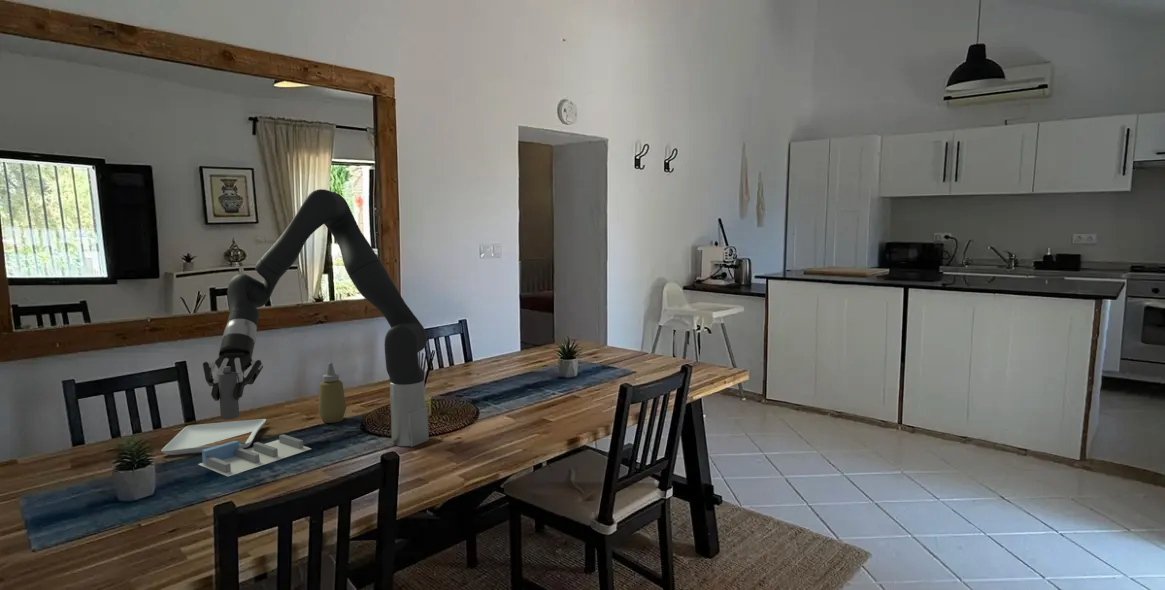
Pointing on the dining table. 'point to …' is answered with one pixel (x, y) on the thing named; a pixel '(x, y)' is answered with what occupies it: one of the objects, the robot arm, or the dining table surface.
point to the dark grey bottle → (228, 394)
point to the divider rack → (249, 455)
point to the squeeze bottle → (331, 397)
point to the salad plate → (211, 435)
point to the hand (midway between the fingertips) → (226, 398)
